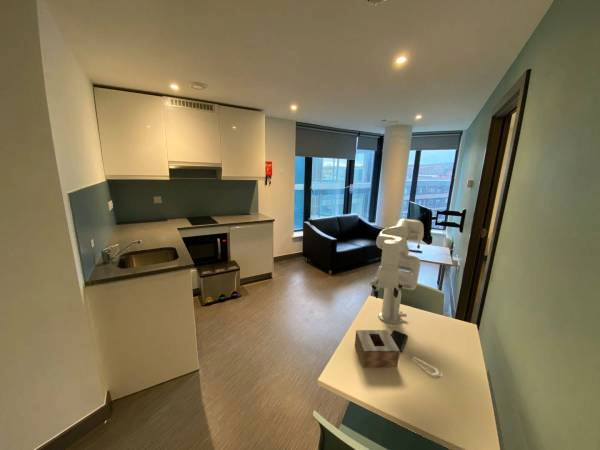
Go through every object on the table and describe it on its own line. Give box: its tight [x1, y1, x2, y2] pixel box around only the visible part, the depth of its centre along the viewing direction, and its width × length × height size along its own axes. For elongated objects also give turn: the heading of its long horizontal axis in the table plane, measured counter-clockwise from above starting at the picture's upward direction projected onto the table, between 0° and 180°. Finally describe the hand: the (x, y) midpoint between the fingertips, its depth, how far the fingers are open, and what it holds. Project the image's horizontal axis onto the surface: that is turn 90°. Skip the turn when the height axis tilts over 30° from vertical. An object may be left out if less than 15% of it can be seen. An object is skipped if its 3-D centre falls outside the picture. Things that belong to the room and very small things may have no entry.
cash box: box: [354, 329, 401, 369], centre depth 115 cm, size 16×14×9 cm
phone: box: [390, 329, 409, 353], centre depth 126 cm, size 8×1×15 cm
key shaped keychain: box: [412, 356, 443, 378], centre depth 110 cm, size 13×5×2 cm, turn 43°
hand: (385, 296), depth 120 cm, fingers open, 9 cm apart
